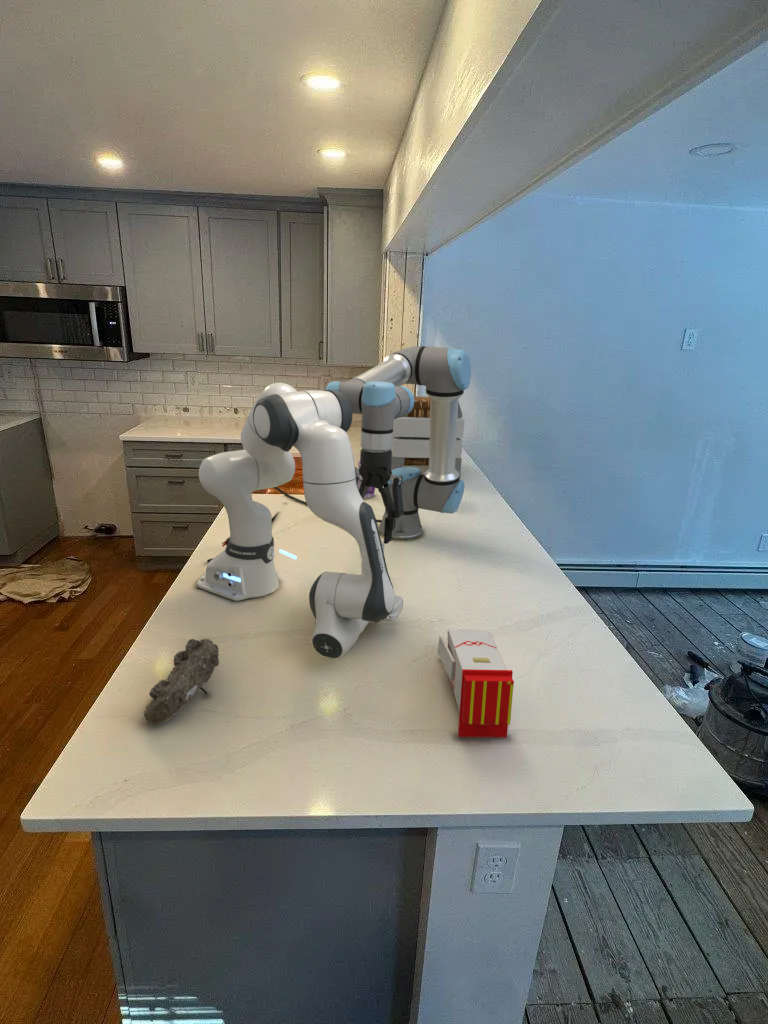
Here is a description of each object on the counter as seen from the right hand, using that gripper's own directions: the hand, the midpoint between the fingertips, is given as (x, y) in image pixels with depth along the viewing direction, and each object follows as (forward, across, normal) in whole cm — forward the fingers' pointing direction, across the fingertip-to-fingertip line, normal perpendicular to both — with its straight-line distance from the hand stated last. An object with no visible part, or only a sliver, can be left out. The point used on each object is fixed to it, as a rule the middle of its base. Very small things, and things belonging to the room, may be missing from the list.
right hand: (372, 538), depth 142 cm
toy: (+21, -34, +18) cm, 44 cm away
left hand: (+14, 0, -1) cm, 14 cm away
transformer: (+19, +44, -128) cm, 137 cm away
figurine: (+20, +48, -82) cm, 98 cm away
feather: (+20, +64, -43) cm, 80 cm away
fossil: (+21, +15, +48) cm, 54 cm away
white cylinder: (+2, 0, 0) cm, 2 cm away
